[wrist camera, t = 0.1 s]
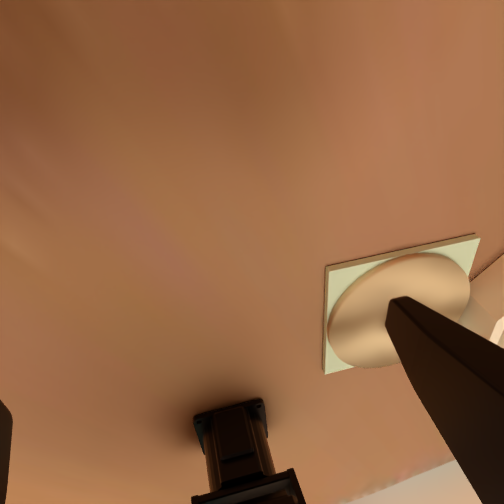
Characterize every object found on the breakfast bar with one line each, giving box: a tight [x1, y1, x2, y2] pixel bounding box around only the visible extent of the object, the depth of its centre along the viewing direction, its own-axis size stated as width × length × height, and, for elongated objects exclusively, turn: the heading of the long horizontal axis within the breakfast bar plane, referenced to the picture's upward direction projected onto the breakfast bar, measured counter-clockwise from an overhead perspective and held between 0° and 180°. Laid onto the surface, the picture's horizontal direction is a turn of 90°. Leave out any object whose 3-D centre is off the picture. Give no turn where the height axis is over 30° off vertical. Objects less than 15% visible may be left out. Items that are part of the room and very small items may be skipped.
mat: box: [322, 234, 480, 374], centre depth 33 cm, size 12×12×1 cm
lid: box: [327, 252, 470, 368], centre depth 30 cm, size 12×12×5 cm
